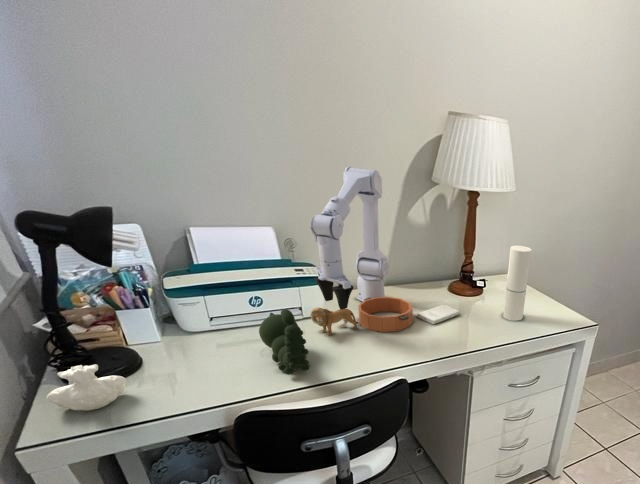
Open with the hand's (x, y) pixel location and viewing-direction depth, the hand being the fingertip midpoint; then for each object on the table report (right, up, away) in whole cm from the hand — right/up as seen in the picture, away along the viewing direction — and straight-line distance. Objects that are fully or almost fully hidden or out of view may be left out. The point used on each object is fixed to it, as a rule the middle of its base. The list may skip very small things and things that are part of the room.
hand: (336, 304), depth 123 cm
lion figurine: (-1, -8, +3) cm, 9 cm away
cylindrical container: (+53, 0, +28) cm, 60 cm away
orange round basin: (+11, -3, +14) cm, 18 cm away
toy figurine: (-7, -18, -13) cm, 23 cm away
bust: (-36, -27, -36) cm, 57 cm away
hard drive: (+27, -1, +21) cm, 34 cm away
